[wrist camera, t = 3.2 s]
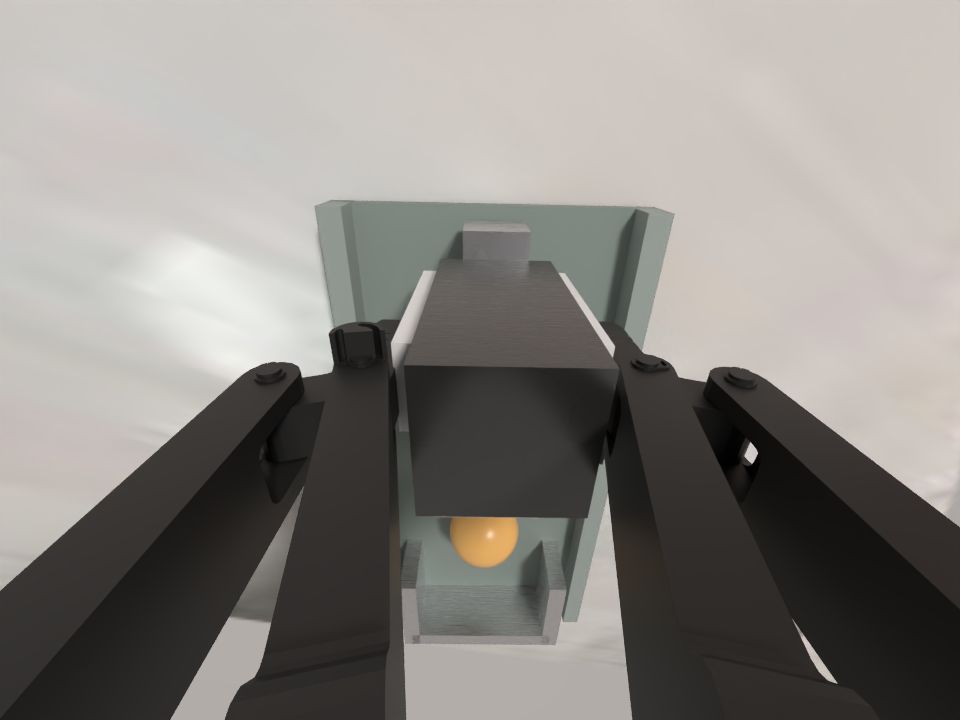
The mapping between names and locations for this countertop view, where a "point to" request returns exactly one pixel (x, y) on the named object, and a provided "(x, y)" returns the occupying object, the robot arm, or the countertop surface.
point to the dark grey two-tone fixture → (505, 386)
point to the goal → (482, 605)
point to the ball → (483, 539)
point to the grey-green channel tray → (554, 237)
